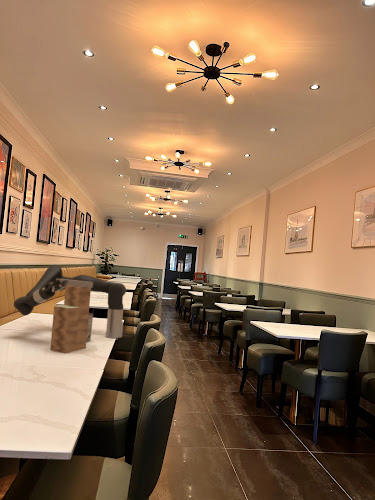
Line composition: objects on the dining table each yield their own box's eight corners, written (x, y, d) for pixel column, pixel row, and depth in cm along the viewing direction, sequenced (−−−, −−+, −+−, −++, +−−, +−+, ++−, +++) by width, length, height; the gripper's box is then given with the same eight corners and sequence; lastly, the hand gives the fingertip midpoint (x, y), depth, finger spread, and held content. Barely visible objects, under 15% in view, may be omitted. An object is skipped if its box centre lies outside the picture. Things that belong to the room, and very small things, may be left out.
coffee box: (71, 340, 203) (73, 312, 204) (79, 338, 209) (81, 311, 210) (83, 343, 199) (85, 314, 200) (91, 341, 205) (93, 313, 206)
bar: (55, 284, 193) (56, 278, 193) (59, 284, 195) (60, 278, 195) (88, 287, 184) (89, 282, 184) (92, 287, 187) (93, 281, 187)
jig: (50, 350, 179) (55, 286, 180) (70, 345, 193) (75, 285, 194) (65, 353, 175) (71, 287, 176) (85, 347, 189) (90, 287, 190)
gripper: (31, 288, 192) (53, 274, 187) (51, 287, 205) (72, 274, 200) (35, 300, 190) (57, 287, 185) (55, 299, 203) (76, 287, 198)
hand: (65, 281), depth 192 cm, fingers open, 8 cm apart
